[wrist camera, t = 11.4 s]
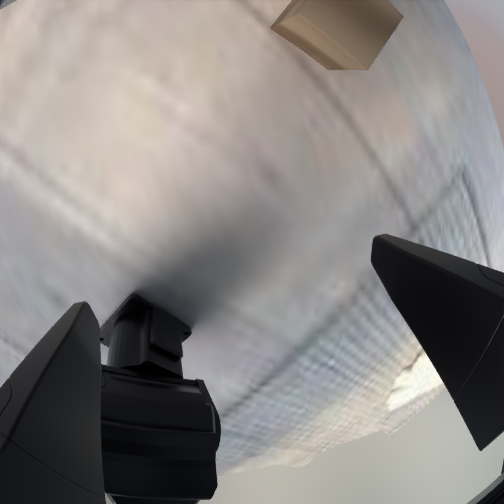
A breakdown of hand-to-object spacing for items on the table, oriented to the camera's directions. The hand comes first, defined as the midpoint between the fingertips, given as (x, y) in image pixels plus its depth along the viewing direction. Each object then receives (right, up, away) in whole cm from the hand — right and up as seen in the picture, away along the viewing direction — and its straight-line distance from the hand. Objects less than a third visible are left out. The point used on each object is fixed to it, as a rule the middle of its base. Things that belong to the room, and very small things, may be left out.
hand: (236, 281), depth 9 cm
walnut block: (+5, +16, +7) cm, 19 cm away
